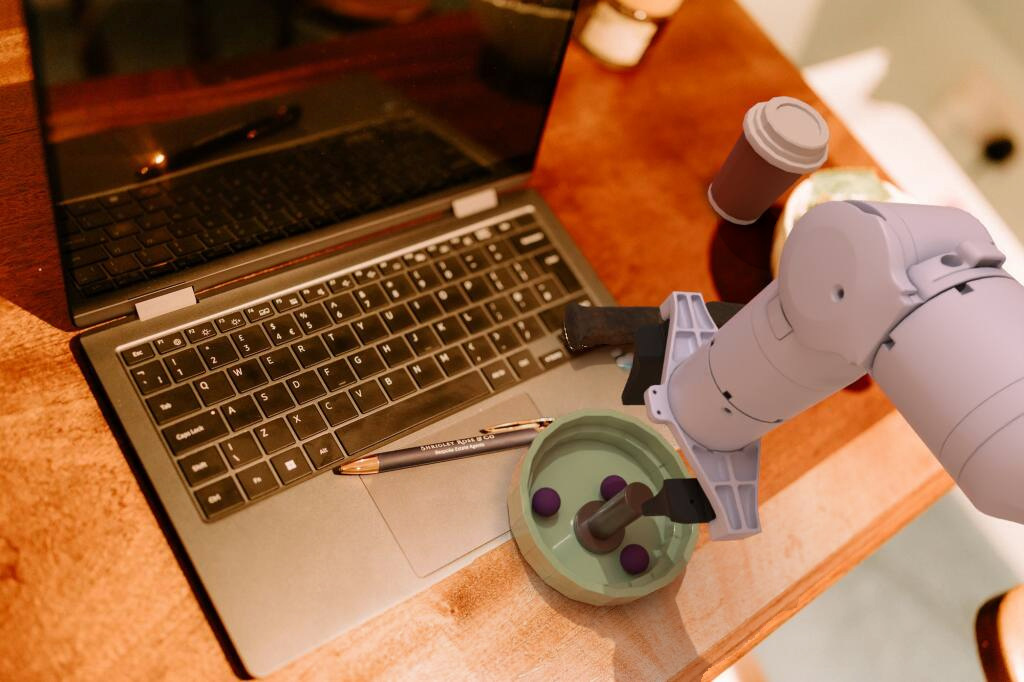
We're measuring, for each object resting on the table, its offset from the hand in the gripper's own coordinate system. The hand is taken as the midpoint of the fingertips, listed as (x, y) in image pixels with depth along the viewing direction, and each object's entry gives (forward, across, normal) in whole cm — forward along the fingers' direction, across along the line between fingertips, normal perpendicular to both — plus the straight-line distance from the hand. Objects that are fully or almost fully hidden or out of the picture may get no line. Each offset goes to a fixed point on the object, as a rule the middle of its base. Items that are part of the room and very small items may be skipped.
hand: (644, 453), depth 47 cm
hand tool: (+11, -15, +9) cm, 21 cm away
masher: (+10, +3, 0) cm, 10 cm away
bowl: (+10, +1, 0) cm, 10 cm away
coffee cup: (+12, -32, +23) cm, 42 cm away
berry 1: (+9, +1, -4) cm, 10 cm away
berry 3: (+8, +6, +2) cm, 10 cm away
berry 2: (+9, 0, +1) cm, 9 cm away
